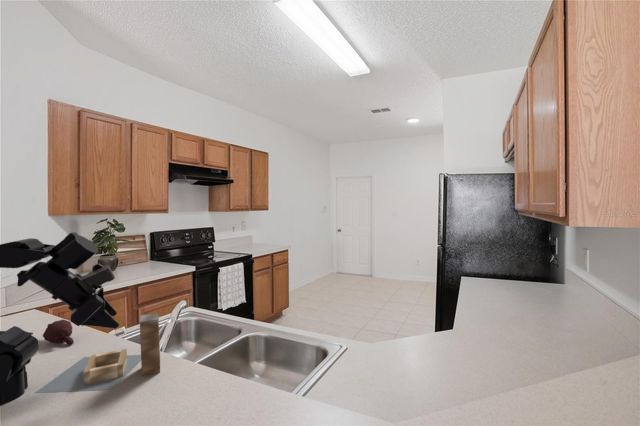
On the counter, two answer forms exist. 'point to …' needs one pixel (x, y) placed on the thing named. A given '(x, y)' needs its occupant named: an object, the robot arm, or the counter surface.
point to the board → (75, 379)
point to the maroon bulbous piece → (59, 332)
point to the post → (150, 344)
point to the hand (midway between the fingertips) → (116, 320)
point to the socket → (105, 366)
